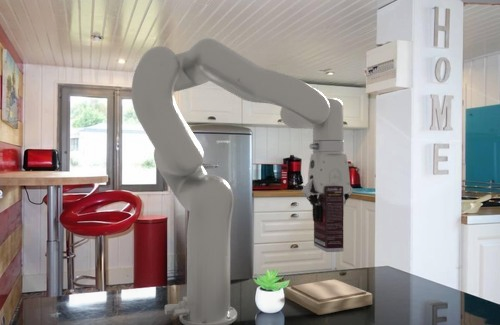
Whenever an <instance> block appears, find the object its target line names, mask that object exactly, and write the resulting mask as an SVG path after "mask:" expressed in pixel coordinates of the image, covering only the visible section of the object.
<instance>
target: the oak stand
mask: <svg viewBox="0 0 500 325" xmlns="http://www.w3.org/2000/svg"><path fill="white" fill-rule="evenodd" d="M285 298H286V299H288V300H290V301H292V302H294V303H295V304H298V305H300V306H301V307H303V308H305V309H306V310H309V311H311V312H312V313H314V314H316V315H326V314H331V313H335V312H340V311H345V310H350V309H355V308H356V309H357V308H361V307H366V306H370V305H371V306H372V305H373V293H371V292H369V291H366V290H363V289H362V288H358V287H356V286H353V285H351V284H348V283H346V282H343V281H340V280H337V279H328V280H322V281H321V280H320V281H315V282H308V283H302V284H295V285H291V286H287V287H285Z"/></svg>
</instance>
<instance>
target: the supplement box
mask: <svg viewBox="0 0 500 325" xmlns="http://www.w3.org/2000/svg"><path fill="white" fill-rule="evenodd" d="M320 206H322V207H323V221H322V222H316V221H313V247H315V248H317V249H320V250H322V251H324V252H326V253H334V252H335V253H337V252H338V253H339V252H344V215H343V186H325V194H323V198H322V202H321V205H320Z"/></svg>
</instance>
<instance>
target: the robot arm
mask: <svg viewBox="0 0 500 325" xmlns="http://www.w3.org/2000/svg"><path fill="white" fill-rule="evenodd" d="M132 77H133V78H132V83H131V102H132V106H133V109H134V113H135V115H136V117H137V119H138V122H139V125H141V128H143V130H144V132H145V134H146V135H147V137H148V139H149V142H151V144H152V145H153V148H154V152H153V159H154V163H155V165H156V168H157V169H158V172H159V173H160V175H161V176H162V177H163V180H164V181H165V182H166V184H167V186H168V187H169V189H170V190H171V191H172V193H173V195H174V196H175V198H176V199H177V200H178V202H179V203H180V205H181V206H182V207H183V208H184V209H185V210H186V211H188V212H189V213H188V222H187V231H186V296H182V300H181V301H178V303H169V304H165V305H164V313H165V315H170V314H173V316H174V317H177V316H178V317H179V321H180V323H181V324H183V325H232V323H234V322H235V321H236V320H237V319H238V312H237V311H238V310H236V309H235V307H232V306H231V230H232V229H231V227H232V217H233V211H234V202H235V200H234V192H233V189H232V187H231V185H230V184H229V182H228V181H227V180H226V179H225V178H223V177H221V176H219V175H216V174H212V173H211V174H210V173H207V171H206V169H205V167H204V166H203V165H204V161H205V152H204V148H203V146H202V144H201V143H200V141H199V139H197V137H196V135H195V134H194V132H193V130H192V129H191V127H190V126H189V124H188V123H187V121H186V120H185V118H184V116H183V114H182V112H181V110H180V108H179V107H178V104H177V102H176V97H175V93H176V92H180V91H185V90H187V89H192V88H194V87H198V86H200V85H203V84H204V85H205V84H206V83H208V82H211V83H213V84H214V85H216V86H219V87H220V88H221V89H224V90H226V91H227V92H229V93H230V94H232V95H234V96H236V97H238V98H240V99H241V100H244V101H246V102H251V103H259V104H270V105H275V106H279V107H281V108H280V112H279V113H280V114H279V116H280V119H281V122H282V123H283V124H284V125H285V126H287V127H288V128H291V129H303V128H304V129H305V128H312V143H310V144H309V149H310V150H312V153H311V154H310V158H309V164H308V174H307V183H306V184H305V185H304V187H303V189H301V194H302V195H303V196H304V197H305V198H306V199H307V201H308V202H309V204H310V205H311V206H312V221H313V222H314V221H316V222H322V221H323V207H322V206H320V205H321V202H322V198H323V194H325V186H343V216H344V215H345V214H344V213H345V212H344V205H346V202H347V200H348V199H349V198H350V196H351V194H352V193H354V188H353V187H352V186H351V179H350V168H349V166H350V165H349V162H348V156H347V154H346V153H345V154H344V104H343V102H342V100H340V99H338V98H327V97H326V96H325V95H324V94H323V93H322V92H321V91H319V90H318V89H316V88H315V87H313V86H311V85H309V84H308V83H307V82H305V81H303V80H300V79H299V78H296V77H294V76H291V75H288V74H285V73H281V72H278V71H276V70H271V69H268V68H265V67H262V66H260V65H258V64H257V63H255V62H254V61H252V60H250V59H249V58H246V56H243V55H242V54H240V53H238V52H237V51H235V50H234V49H232V48H231V47H229V46H227V45H225V44H223V43H222V42H220V41H218V40H216V39H213V38H203V39H200V40H198V41H197V42H196V43H194V45H193V46H191V48H190V49H189V50H185V51H184V52H180V53H176V52H174V51H173V50H172V49H171V48H169V47H166V46H159V45H158V46H154V47H151V48H149V49H148V50H147V51H146V52H145V53H143V55H142V57H141V58H140V60H139V62H138V63H137V66H136V68H135V70H134V73H133V75H132Z"/></svg>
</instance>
